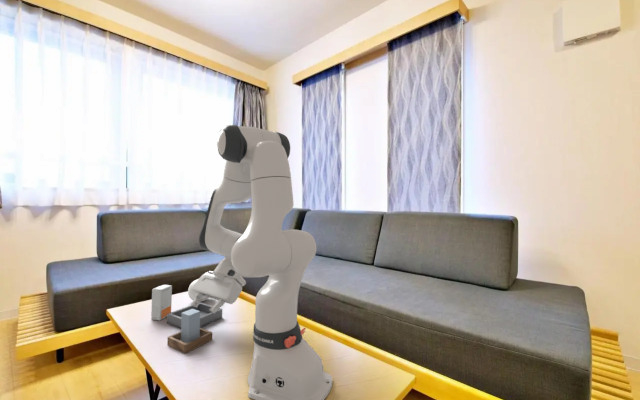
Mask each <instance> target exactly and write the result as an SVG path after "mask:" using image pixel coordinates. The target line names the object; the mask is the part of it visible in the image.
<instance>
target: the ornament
mask: <svg viewBox="0 0 640 400" xmlns="http://www.w3.org/2000/svg"><path fill="white" fill-rule="evenodd" d="M202 275H203V274H201V276H202ZM201 276H200V277H201ZM198 279H199V278H197V279H195V280H193V281H191V283H190V284H189V287H188V289H187V295H188V297H189V298H190V300H191V301H192V302H193V301H194V298H195V294H196V293H195V292H194V291H193V290H192V287H193V285H194V284H195V283H196V282H197V280H198ZM208 299H210V298H209V297H206V296H202V298H200V300H199V302H201V303H203V302H205V301H206V300H208Z"/></svg>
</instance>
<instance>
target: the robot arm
mask: <svg viewBox="0 0 640 400" xmlns="http://www.w3.org/2000/svg"><path fill="white" fill-rule="evenodd" d="M216 145H217V152H218V155H220V157H221V158H222V159H223V160H225V166H224V172H223V179H222V182H221V184H220V185H218V186H216V187H215V188H214V190H213V192H212V193H211V197H210V201H209V204H208V207H207V211H206V215H205V219H204V223H203V225H202V228H201V230H200V232H199V235H198V244H199V245H200V248H201V249H202V250H203V251H204V250H205V251H208V252H212V253H214V254H216V255H220V256H222V257H224V258H223V259H221V260H220V261H219V263H218V264H217V266H216V267H215V268H214V270H209V271H207V272H205V273H202V274H201V275H202V276H200V277H199V278H197V279H198V280H197V279H196V280H197V282H196V283H195V284H194V285H193V287H192V290H193V291H194V292H195V293H196V294H195V298H194V301H193V300H192V302H191V305H192V306H193V307H198V305H199V304H200V303H199V300H200V298H202V296H206V297H209V298H208V299H213V300H216V301H217V302H216V303H215V304H214V305H211V308H210V309H209V311H210V312H211V313H215V312H216V311H217V309H219V308H220V309H221V308H222V307H223V306H224V304H225V303H226V304H230V305H233V304H234V303H235V302H236V301H237V300H238V298H239V297H240V295H241V293H242V291H243V287H244V286H245V285H246V284H247V281H246V279H244V278H262V277H267V276H268V277H267V279H266V280H267V281H266V282H265V283H264V285H262V286H261V288H260V289H259V290H258V292H257V294H256V296H255V311H254V312H255V317H254V318H255V321H254V323H253V331H252V340H253V342H254V343H253V345H254V346H253V353H252V362H251V365H250V370H249V373H248V377H247V383H248V386H249V388H248V393H247V395H248V398H250V399H253V400H325V399H327V397H328V395H329V394H330V391H331V390H332V387H333V377H332V375H331V374H330V373H328V372H326V371H324V363H323V361H322V358H321V356H320V355H319V354H318V353H317V352H316V351H315V349H314V348H313V347H311V345H310V344H309V343H308V342H307V341H306V340H305V339H304V338H303V334H304V333H306V331H305V330H306V327H303V328H302V329H301V327H300V324H299V322H298V300H299V292H300V288H301V285H302V281H303V277H304V274H305V273H306V271H307V269H308V267H309V265H310V264H311V262H312V261H313V260H314V258H315V257H316V253H317V244H316V243H317V242H316V240H315V238H314V236H313V235H312V234H311V233H310V232H308V231H305V230H301V229H300V230H299V229H285V230H284V229H283V222H284V220H285V217H286V215H288V214H289V213H290V212H291V211H292V210H293V207H294V195H293V193H294V192H293V184H292V174H291V167H290V164H289V163H290V162H289V156H290V154H291V142H290V140H289V138H288V137H287V135H285V134H283V133H281V132H278V131H271V130H267V129H264V128H259V127H254V126H246V125H245V126H244V125H243V126H242V125H239V126H238V125H237V124H229V125H224V126H223V127H222V128H221V129H220V130H219V133H218V136H217V141H216ZM249 199H251V213H250V218H249V221H248V224H247V227H246V229H245V230H244V232H243V233H240V232H238V231H234V230H231V229H228V228H225V227H224V226H223V225H222V224H221V220H222V217H223V213H224V210H225V207H226V205H231V204H240V203H244V202H246V201H249Z"/></svg>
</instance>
